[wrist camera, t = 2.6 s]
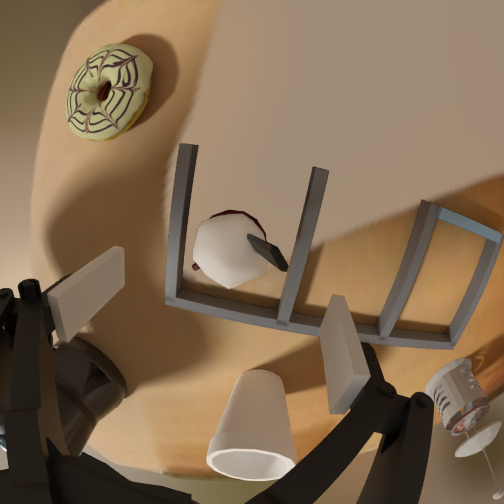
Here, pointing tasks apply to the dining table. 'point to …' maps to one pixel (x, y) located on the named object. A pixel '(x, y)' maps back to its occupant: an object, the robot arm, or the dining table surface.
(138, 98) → the decorated donut
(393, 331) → the organizer
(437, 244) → the dining table surface
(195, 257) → the cocoa
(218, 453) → the foam cup
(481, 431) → the french press
